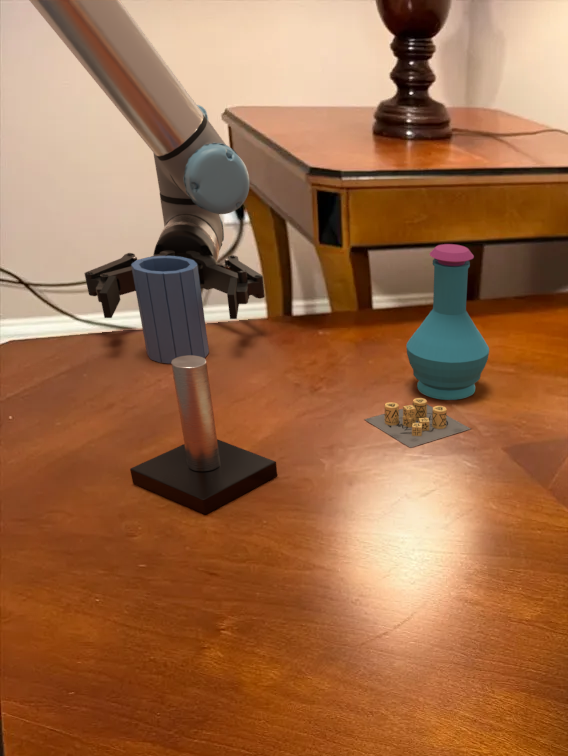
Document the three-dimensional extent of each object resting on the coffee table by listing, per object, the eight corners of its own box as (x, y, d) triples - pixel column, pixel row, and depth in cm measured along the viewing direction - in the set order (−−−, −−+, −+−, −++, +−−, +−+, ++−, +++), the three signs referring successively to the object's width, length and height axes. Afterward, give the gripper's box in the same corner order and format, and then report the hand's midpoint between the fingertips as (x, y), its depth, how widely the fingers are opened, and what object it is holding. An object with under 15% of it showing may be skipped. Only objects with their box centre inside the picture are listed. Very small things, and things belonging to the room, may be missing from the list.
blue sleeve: (135, 354, 101) (118, 264, 95) (179, 339, 106) (166, 252, 100) (176, 368, 98) (162, 277, 92) (220, 352, 103) (209, 264, 97)
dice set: (381, 421, 91) (381, 404, 90) (420, 410, 94) (420, 393, 92) (411, 439, 88) (411, 421, 87) (449, 427, 91) (450, 410, 90)
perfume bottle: (438, 411, 94) (443, 265, 85) (390, 382, 99) (389, 242, 90) (502, 393, 99) (514, 254, 89) (453, 367, 104) (459, 233, 95)
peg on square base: (132, 483, 77) (107, 363, 71) (207, 448, 84) (190, 334, 77) (205, 515, 74) (186, 391, 67) (277, 476, 80) (267, 359, 73)
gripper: (286, 285, 118) (285, 340, 102) (92, 282, 114) (59, 339, 97) (282, 225, 113) (280, 273, 97) (80, 220, 109) (42, 269, 93)
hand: (169, 306), depth 97 cm, fingers open, 13 cm apart
